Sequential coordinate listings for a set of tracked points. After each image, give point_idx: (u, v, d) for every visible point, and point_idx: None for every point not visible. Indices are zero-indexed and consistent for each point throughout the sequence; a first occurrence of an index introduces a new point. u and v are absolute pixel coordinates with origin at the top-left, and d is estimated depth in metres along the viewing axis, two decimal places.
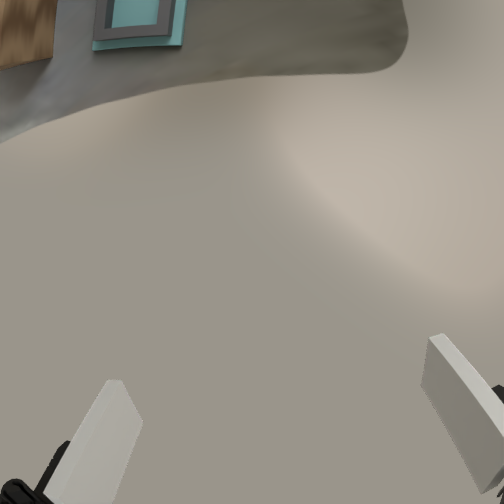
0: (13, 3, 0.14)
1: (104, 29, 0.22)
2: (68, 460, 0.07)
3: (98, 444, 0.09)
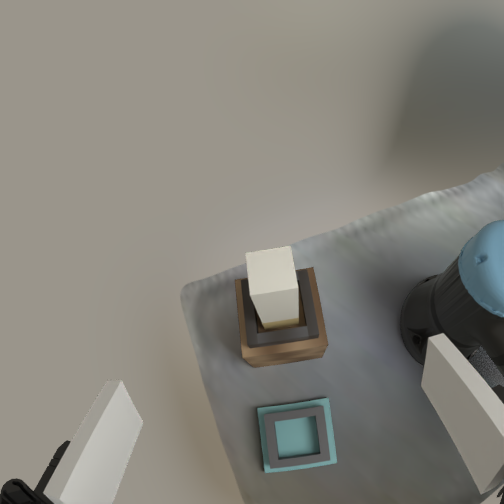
0: (299, 351, 0.36)
1: (273, 421, 0.37)
2: (68, 460, 0.07)
3: (98, 444, 0.09)
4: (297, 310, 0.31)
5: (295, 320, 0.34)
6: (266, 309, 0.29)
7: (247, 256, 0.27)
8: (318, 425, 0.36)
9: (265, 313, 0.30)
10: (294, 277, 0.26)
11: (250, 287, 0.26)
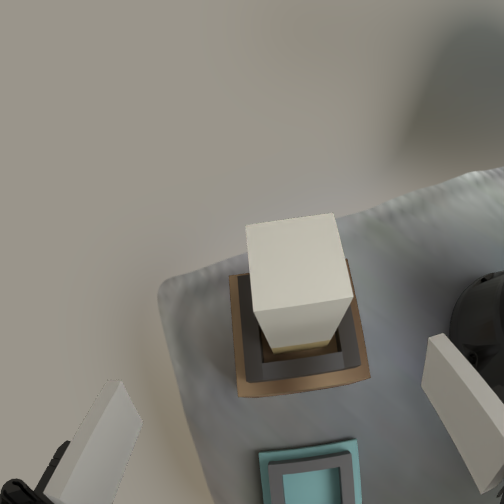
0: None
1: (280, 475, 0.24)
2: (68, 460, 0.07)
3: (99, 445, 0.09)
4: (333, 331, 0.17)
5: (323, 343, 0.21)
6: (283, 331, 0.16)
7: (249, 232, 0.14)
8: (343, 479, 0.23)
9: (279, 336, 0.17)
10: (344, 275, 0.12)
11: (254, 294, 0.12)
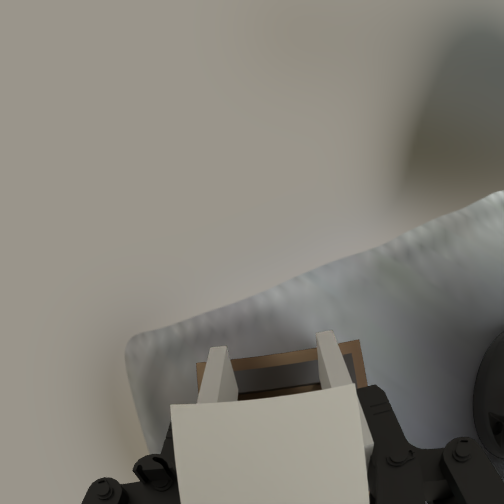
0: None
1: None
2: None
3: None
4: None
5: None
6: None
7: (177, 421, 0.06)
8: None
9: None
10: None
11: None
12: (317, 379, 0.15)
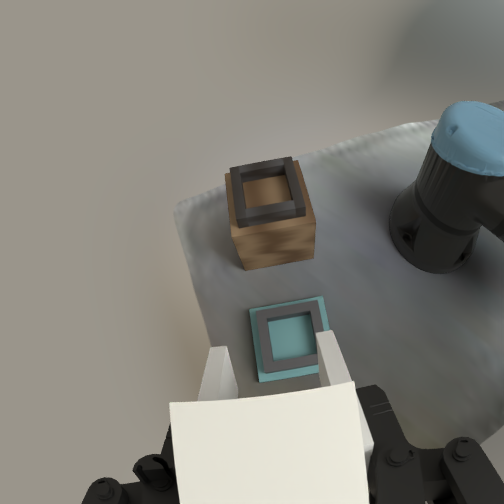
0: (288, 233, 0.38)
1: (265, 318, 0.39)
2: None
3: None
4: None
5: None
6: None
7: (176, 419, 0.06)
8: (313, 320, 0.38)
9: None
10: None
11: None
12: (277, 165, 0.38)
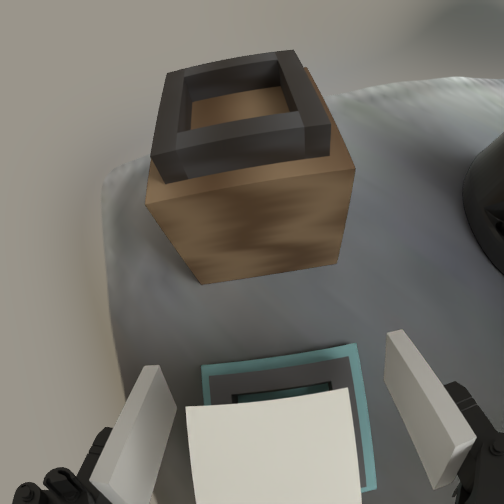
0: (285, 198, 0.15)
1: (230, 394, 0.16)
2: (114, 445, 0.08)
3: (142, 428, 0.10)
4: None
5: None
6: None
7: (192, 421, 0.07)
8: None
9: None
10: (354, 500, 0.05)
11: None
12: (263, 60, 0.16)
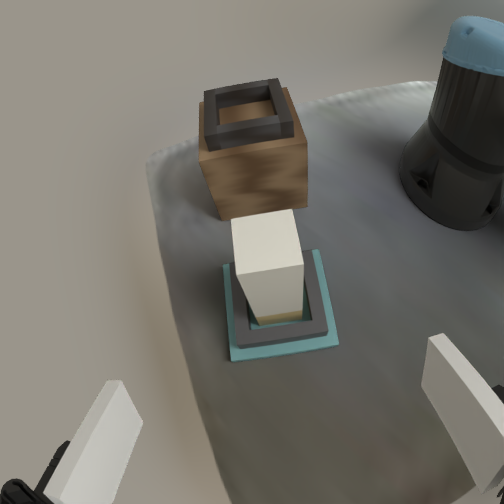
0: (272, 159, 0.28)
1: None
2: (68, 460, 0.07)
3: (98, 444, 0.09)
4: (301, 299, 0.24)
5: (298, 314, 0.27)
6: (260, 296, 0.22)
7: (233, 223, 0.20)
8: (306, 276, 0.28)
9: (259, 302, 0.23)
10: (298, 250, 0.19)
11: (237, 264, 0.19)
12: (260, 85, 0.29)
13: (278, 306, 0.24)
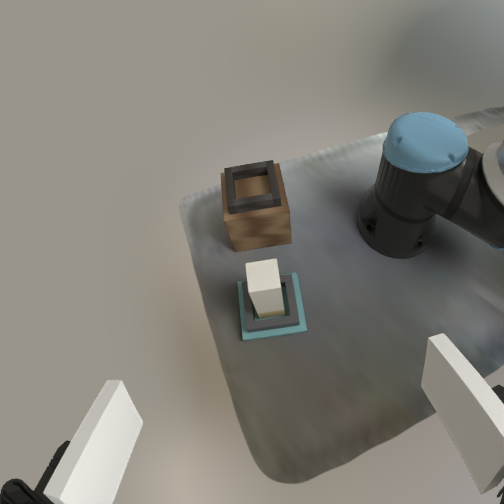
0: (268, 219, 0.48)
1: None
2: (68, 460, 0.07)
3: (98, 444, 0.09)
4: (282, 303, 0.43)
5: (282, 312, 0.47)
6: (260, 302, 0.42)
7: (246, 265, 0.40)
8: (287, 290, 0.48)
9: (259, 305, 0.43)
10: (278, 280, 0.38)
11: (248, 287, 0.39)
12: (261, 166, 0.49)
13: (270, 307, 0.44)
